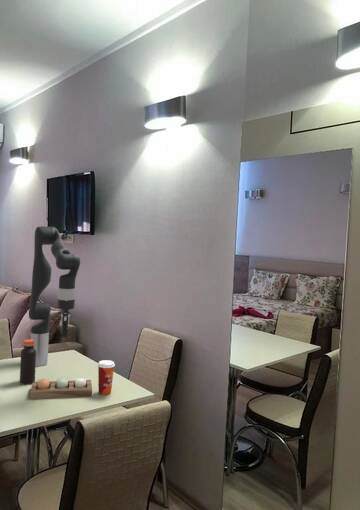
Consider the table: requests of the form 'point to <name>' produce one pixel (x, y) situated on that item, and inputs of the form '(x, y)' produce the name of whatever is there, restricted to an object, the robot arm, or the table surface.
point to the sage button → (62, 383)
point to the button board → (60, 390)
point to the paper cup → (105, 376)
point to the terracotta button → (43, 384)
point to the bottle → (28, 362)
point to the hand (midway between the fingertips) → (64, 335)
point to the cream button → (80, 383)
